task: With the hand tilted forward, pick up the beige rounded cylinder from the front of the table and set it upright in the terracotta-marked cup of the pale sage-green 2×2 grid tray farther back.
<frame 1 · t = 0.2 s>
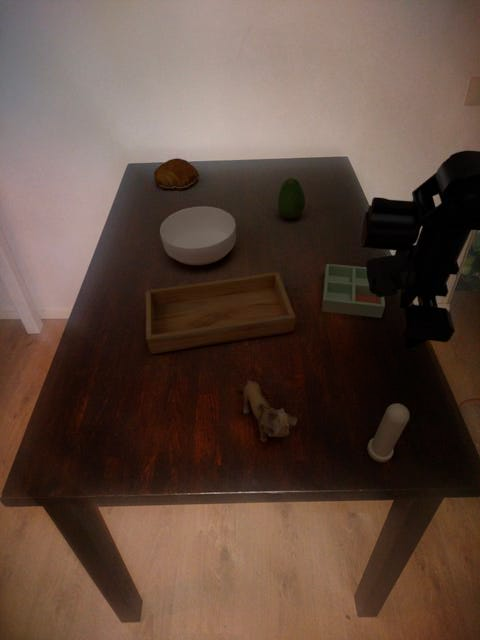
hand: (405, 326, 64), 14 cm above the table, tool pointing down, fingers open, 9 cm apart
beige rounded cylinder: (379, 450, 64), on the table
lion figurine: (263, 420, 69), on the table
fruit: (290, 217, 115), on the table
grid: (351, 295, 90), on the table
croissant: (178, 182, 134), on the table
tray: (219, 320, 87), on the table
bowl: (201, 253, 105), on the table
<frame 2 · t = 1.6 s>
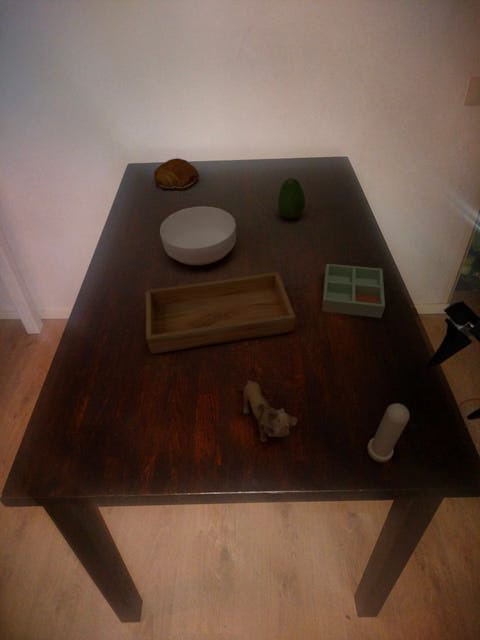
hand: (447, 391, 56), 13 cm above the table, tool tilted 45°, fingers open, 9 cm apart
nothing on the table moved.
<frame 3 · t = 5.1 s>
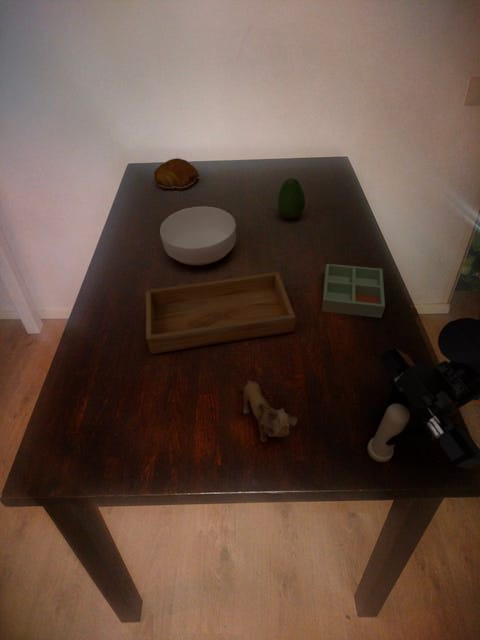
hand: (380, 434, 59), 7 cm above the table, tool tilted 45°, fingers closed on beige rounded cylinder, 3 cm apart
beige rounded cylinder: (379, 450, 64), on the table, touching gripper
everything else where it was.
when the fingers open (7 cm above the table, at t = 13.2 s): beige rounded cylinder stays where it is, resting on grid.
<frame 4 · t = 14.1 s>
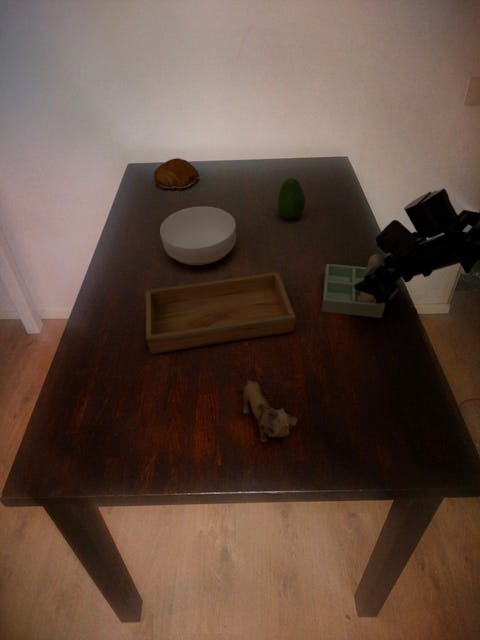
hand: (366, 276, 83), 8 cm above the table, tool tilted 45°, fingers open, 9 cm apart
beige rounded cylinder: (365, 303, 87), point 1 cm above the table, touching grid
everything else where it was.
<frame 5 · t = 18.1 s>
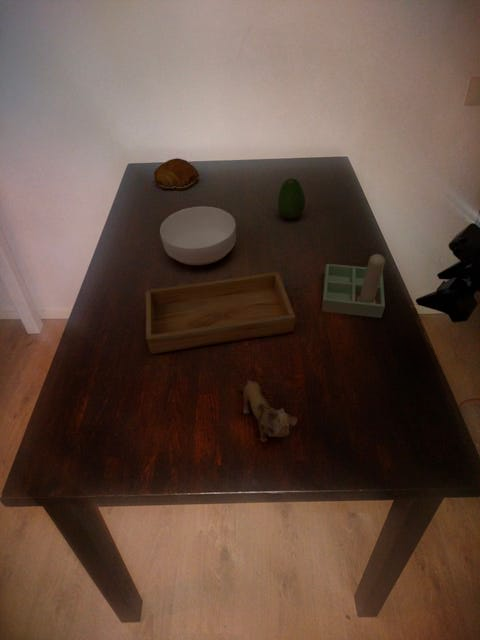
hand: (427, 288, 71), 14 cm above the table, tool tilted 45°, fingers open, 9 cm apart
nothing on the table moved.
at the end: beige rounded cylinder 0.0 cm from the target spot in the grid, point 0.8 cm above the grid's base; beige rounded cylinder tilted 0°; the gripper is holding nothing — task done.
